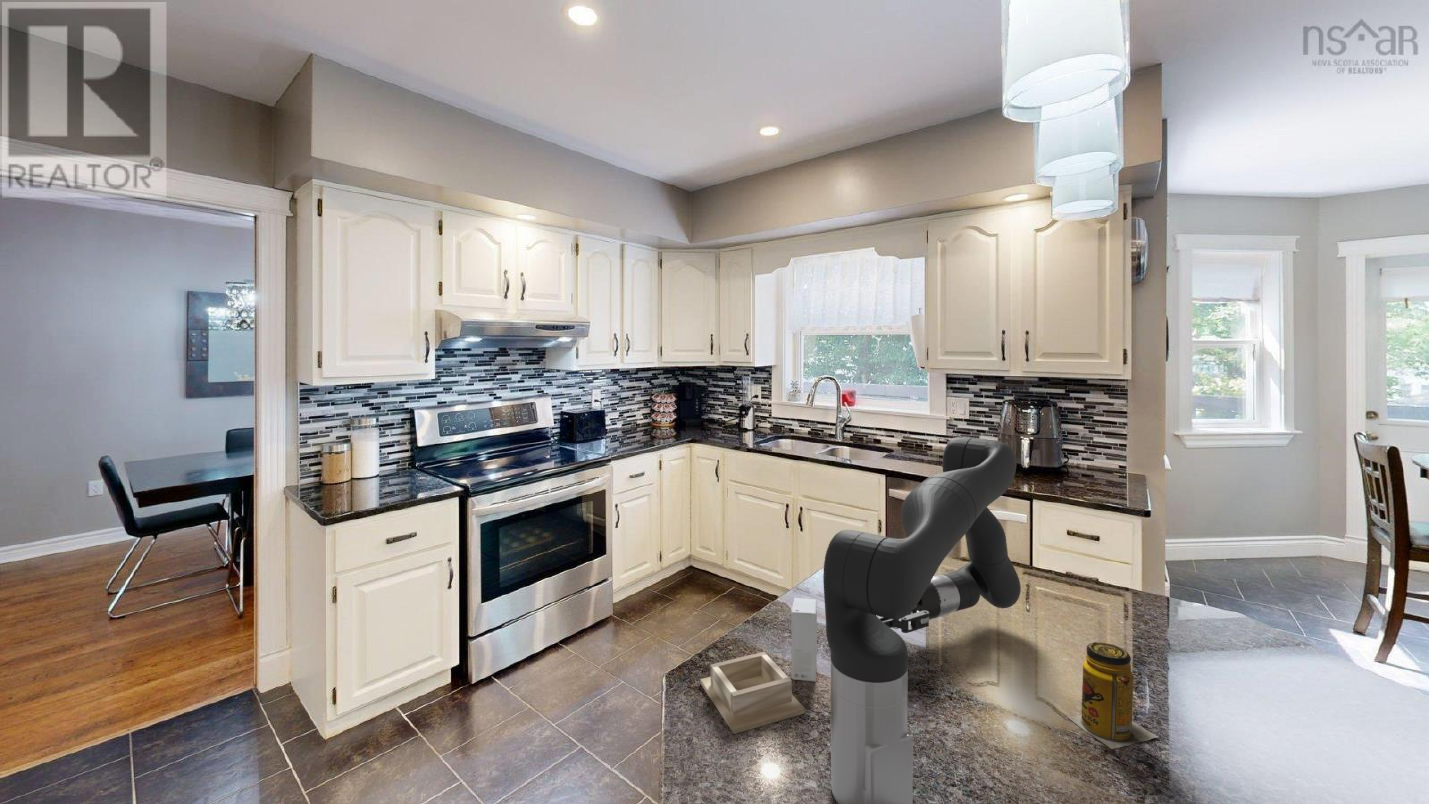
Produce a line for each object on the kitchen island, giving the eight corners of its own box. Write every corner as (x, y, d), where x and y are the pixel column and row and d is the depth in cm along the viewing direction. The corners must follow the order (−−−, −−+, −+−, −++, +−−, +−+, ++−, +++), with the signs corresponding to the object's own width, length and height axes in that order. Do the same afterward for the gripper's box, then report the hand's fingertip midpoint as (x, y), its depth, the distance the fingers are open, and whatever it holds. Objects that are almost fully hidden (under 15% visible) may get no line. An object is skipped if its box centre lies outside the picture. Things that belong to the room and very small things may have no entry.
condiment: (1066, 718, 85) (1068, 641, 84) (1111, 708, 87) (1114, 633, 86) (1111, 750, 78) (1114, 667, 77) (1159, 739, 80) (1162, 658, 79)
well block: (804, 713, 87) (804, 686, 87) (733, 734, 83) (733, 706, 82) (763, 667, 100) (763, 644, 100) (700, 683, 96) (699, 659, 95)
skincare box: (816, 682, 95) (816, 614, 94) (791, 680, 96) (790, 612, 95) (817, 663, 101) (817, 598, 100) (793, 661, 102) (792, 597, 101)
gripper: (902, 566, 115) (835, 580, 109) (957, 593, 102) (883, 611, 96) (902, 601, 115) (835, 617, 109) (956, 633, 102) (883, 653, 96)
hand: (858, 614), depth 102 cm, fingers open, 8 cm apart
